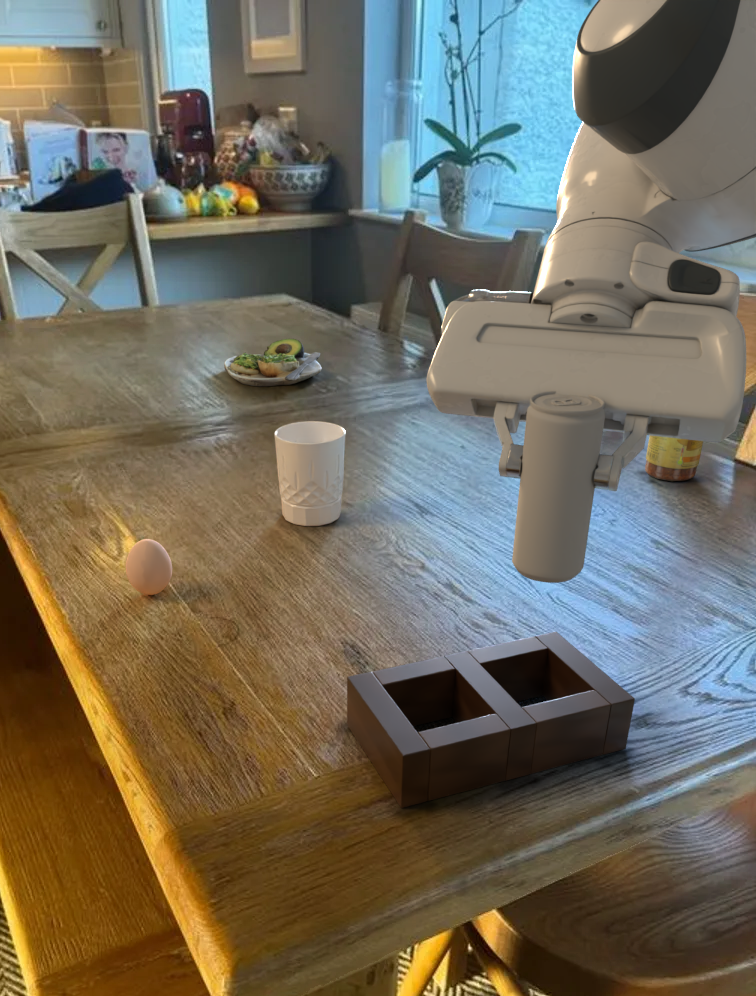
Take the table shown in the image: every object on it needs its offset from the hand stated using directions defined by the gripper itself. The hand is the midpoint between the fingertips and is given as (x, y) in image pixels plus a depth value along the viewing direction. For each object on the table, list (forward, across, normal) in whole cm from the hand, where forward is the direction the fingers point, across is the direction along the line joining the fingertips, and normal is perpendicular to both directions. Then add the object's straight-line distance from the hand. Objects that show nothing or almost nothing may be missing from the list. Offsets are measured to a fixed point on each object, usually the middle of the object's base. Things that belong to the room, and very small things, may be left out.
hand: (557, 480), depth 59 cm
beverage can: (+4, 0, +5) cm, 7 cm away
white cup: (-8, -31, +36) cm, 49 cm away
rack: (+16, -3, +12) cm, 20 cm away
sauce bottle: (-27, +6, +56) cm, 63 cm away
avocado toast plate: (-47, -63, +76) cm, 109 cm away
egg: (+9, -38, +20) cm, 44 cm away
